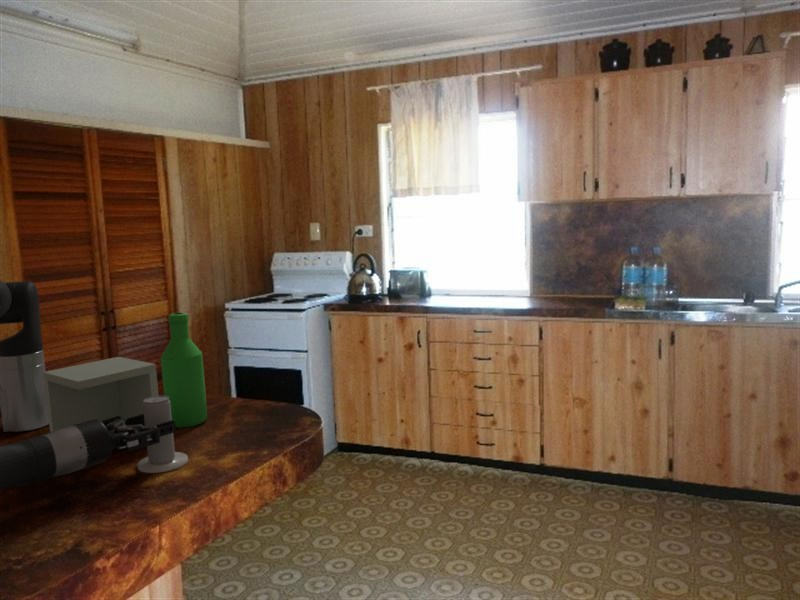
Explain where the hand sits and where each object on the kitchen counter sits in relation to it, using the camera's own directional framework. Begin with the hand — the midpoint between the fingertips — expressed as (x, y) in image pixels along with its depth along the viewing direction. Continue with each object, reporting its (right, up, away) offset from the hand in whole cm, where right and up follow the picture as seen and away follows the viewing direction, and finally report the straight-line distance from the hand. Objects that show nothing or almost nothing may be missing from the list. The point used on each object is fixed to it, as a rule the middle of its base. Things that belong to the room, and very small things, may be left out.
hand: (161, 421), depth 123 cm
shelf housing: (-14, -8, +9) cm, 18 cm away
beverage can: (0, -8, +1) cm, 8 cm away
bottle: (-3, -5, +25) cm, 26 cm away
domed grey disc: (0, -8, +1) cm, 8 cm away
